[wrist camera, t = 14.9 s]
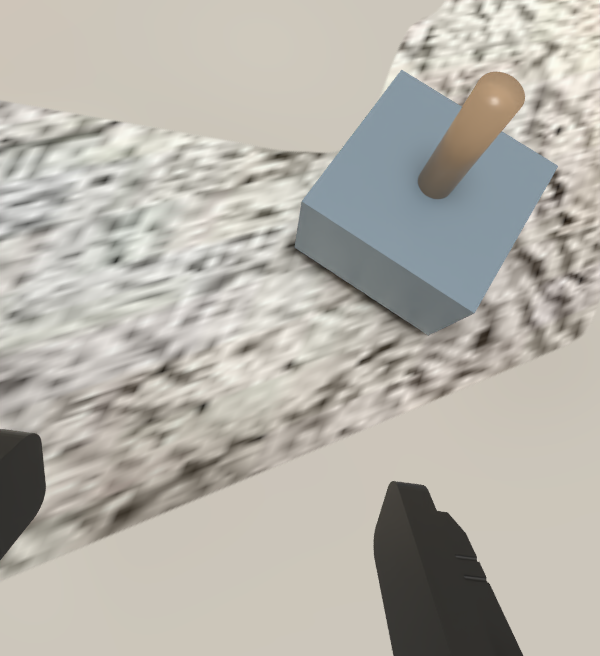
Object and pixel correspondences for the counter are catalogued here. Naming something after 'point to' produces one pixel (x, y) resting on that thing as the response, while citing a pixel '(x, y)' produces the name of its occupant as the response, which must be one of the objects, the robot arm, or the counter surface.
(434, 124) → the cover
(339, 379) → the counter surface
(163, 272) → the counter surface
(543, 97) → the counter surface
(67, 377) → the counter surface
